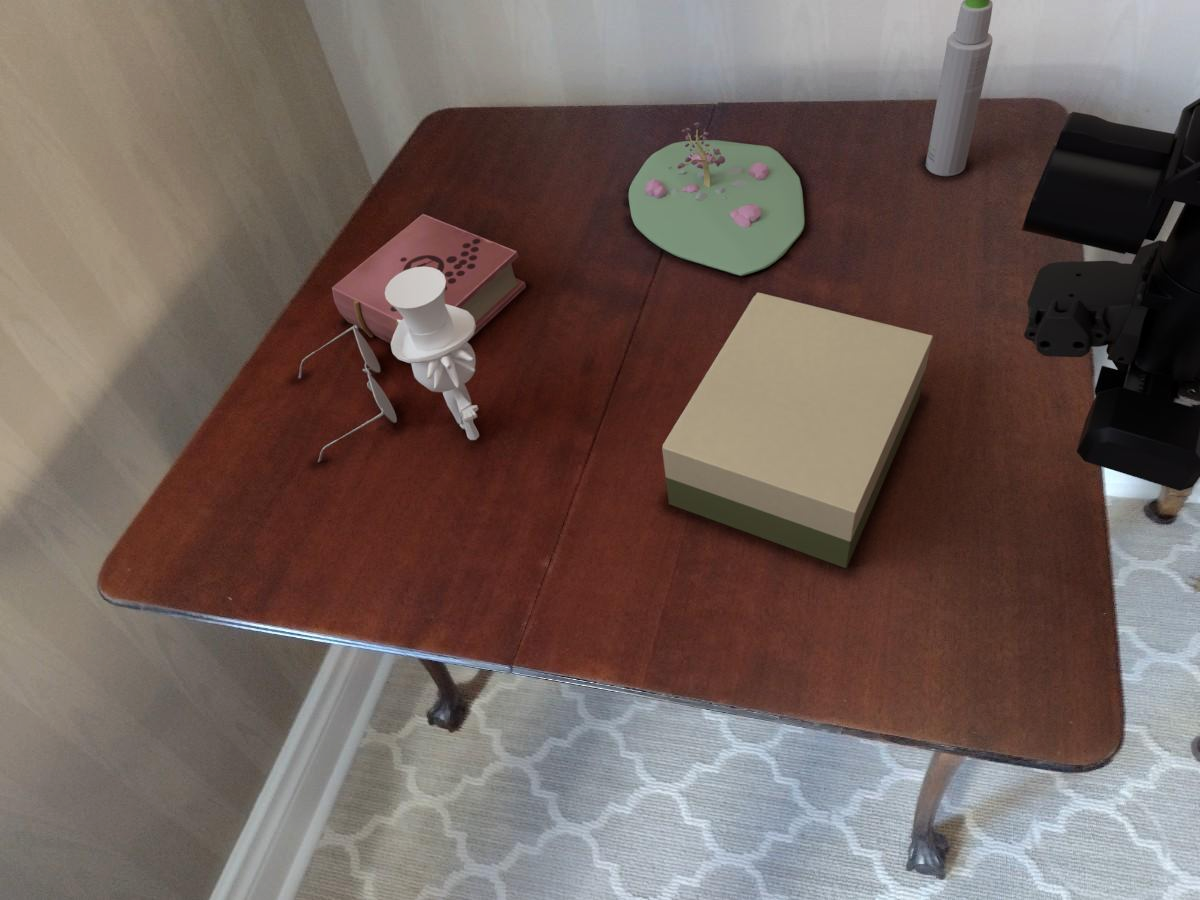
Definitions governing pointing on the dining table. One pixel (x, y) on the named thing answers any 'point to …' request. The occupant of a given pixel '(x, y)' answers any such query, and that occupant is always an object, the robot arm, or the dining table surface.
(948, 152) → the bottle
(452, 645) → the dining table surface
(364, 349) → the sunglasses
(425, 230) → the book
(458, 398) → the figurine
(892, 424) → the beige lidded box
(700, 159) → the green garden diorama
